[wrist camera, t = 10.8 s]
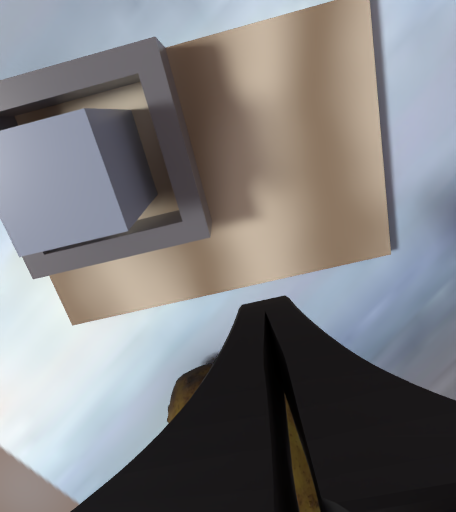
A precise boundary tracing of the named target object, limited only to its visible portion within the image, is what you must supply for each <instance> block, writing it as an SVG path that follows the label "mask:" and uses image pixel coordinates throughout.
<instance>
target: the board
mask: <svg viewBox="0 0 456 512" xmlns="http://www.w3.org/2000/svg"><path fill="white" fill-rule="evenodd" d="M166 52H167V56H168V60H169V63H170V67H171V71H172V74H173V78H174V82H175V86H176V89H177V93H178V97H179V100H180V104H181V108H182V112H183V115H184V119H185V123H186V126H187V130H188V134H189V138H190V141H191V145H192V149H193V152H194V156H195V160H196V164H197V167H198V171H199V175H200V178H201V182H202V186H203V190H204V193H205V197H206V201H207V204H208V208H209V212H210V216H211V219H212V228H211V237H210V238H206V239H202V240H198V241H193V242H189V243H185V244H181V245H176V246H172V247H168V248H164V249H159V250H155V251H151V252H147V253H142V254H138V255H134V256H130V257H125V258H121V259H117V260H113V261H109V262H104V263H100V264H96V265H92V266H87V267H83V268H79V269H75V270H70V271H66V272H62V273H58V274H53V275H49V276H50V278H51V281H52V283H53V285H54V287H55V289H56V291H57V293H58V296H59V298H60V300H61V302H62V304H63V306H64V308H65V311H66V313H67V315H68V317H69V319H70V321H71V323H72V325H76V324H81V323H85V322H90V321H94V320H99V319H103V318H108V317H112V316H117V315H121V314H126V313H130V312H135V311H139V310H144V309H148V308H152V307H157V306H161V305H166V304H170V303H175V302H179V301H184V300H188V299H193V298H197V297H202V296H206V295H211V294H215V293H220V292H224V291H229V290H233V289H238V288H242V287H247V286H251V285H256V284H260V283H265V282H269V281H274V280H278V279H283V278H287V277H292V276H296V275H300V274H305V273H309V272H314V271H318V270H323V269H327V268H332V267H336V266H341V265H345V264H350V263H354V262H359V261H363V260H368V259H372V258H377V257H381V256H386V255H390V254H391V248H390V236H389V225H388V213H387V201H386V189H385V177H384V165H383V154H382V142H381V130H380V118H379V106H378V94H377V82H376V71H375V59H374V47H373V35H372V23H371V11H370V0H334V1H331V2H327V3H324V4H320V5H317V6H313V7H309V8H306V9H302V10H299V11H295V12H292V13H288V14H284V15H281V16H277V17H274V18H270V19H267V20H263V21H259V22H256V23H252V24H249V25H245V26H242V27H238V28H234V29H231V30H227V31H224V32H220V33H217V34H213V35H209V36H206V37H202V38H199V39H195V40H192V41H188V42H184V43H181V44H177V45H174V46H170V47H167V48H166ZM83 108H93V109H126V110H131V111H132V114H133V117H134V120H135V124H136V127H137V130H138V133H139V136H140V139H141V143H142V146H143V149H144V152H145V155H146V159H147V162H148V165H149V168H150V171H151V174H152V178H153V181H154V184H155V187H156V190H157V194H158V195H157V196H156V197H155V198H154V200H153V201H152V202H151V203H150V205H149V206H148V207H147V208H146V210H145V211H144V212H143V213H142V215H141V216H140V217H139V218H138V220H140V219H144V218H148V217H152V216H156V215H160V214H164V213H168V212H172V211H177V210H179V208H178V205H177V201H176V198H175V195H174V191H173V188H172V185H171V181H170V178H169V175H168V171H167V168H166V165H165V161H164V158H163V155H162V151H161V148H160V145H159V141H158V138H157V135H156V131H155V128H154V125H153V121H152V118H151V115H150V111H149V108H148V105H147V101H146V98H145V95H144V91H143V88H142V85H141V82H137V83H134V84H130V85H126V86H123V87H119V88H115V89H112V90H108V91H105V92H101V93H97V94H94V95H90V96H86V97H83V98H79V99H75V100H72V101H68V102H64V103H61V104H57V105H53V106H50V107H46V108H42V109H39V110H35V111H31V112H28V113H24V114H21V115H17V116H15V119H16V121H17V123H18V126H20V125H23V124H27V123H31V122H34V121H38V120H42V119H46V118H49V117H53V116H57V115H61V114H64V113H68V112H72V111H76V110H79V109H83Z"/></svg>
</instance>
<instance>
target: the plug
mask: <svg viewBox="0 0 456 512" xmlns="http://www.w3.org/2000/svg"><path fill="white" fill-rule="evenodd" d="M157 195H158V194H157V190H156V187H155V184H154V181H153V178H152V174H151V171H150V168H149V165H148V162H147V159H146V155H145V152H144V149H143V146H142V143H141V139H140V136H139V133H138V130H137V127H136V124H135V120H134V117H133V114H132V111H131V110H126V109H93V108H83V109H79V110H76V111H72V112H68V113H64V114H61V115H57V116H53V117H49V118H46V119H42V120H38V121H34V122H31V123H27V124H23V125H20V126H16V127H12V128H8V129H5V130H1V131H0V219H1V221H2V223H3V225H4V227H5V229H6V231H7V233H8V235H9V237H10V239H11V241H12V243H13V245H14V247H15V249H16V251H17V253H18V256H19V257H22V256H26V255H30V254H34V253H39V252H43V251H47V250H51V249H55V248H60V247H64V246H68V245H72V244H76V243H81V242H85V241H89V240H93V239H97V238H102V237H106V236H110V235H114V234H118V233H123V232H127V231H129V229H130V228H131V227H132V226H133V224H134V223H135V222H136V221H137V220H138V218H139V217H140V216H141V215H142V213H143V212H144V211H145V210H146V208H147V207H148V206H149V205H150V203H151V202H152V201H153V200H154V198H155V197H156V196H157Z"/></svg>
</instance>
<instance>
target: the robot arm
mask: <svg viewBox="0 0 456 512" xmlns="http://www.w3.org/2000/svg"><path fill="white" fill-rule="evenodd" d="M284 393H285V394H284ZM285 396H286V399H287V402H288V405H289V408H290V411H291V414H292V417H293V420H294V424H295V427H296V430H297V433H298V436H299V439H300V442H301V445H302V448H303V451H304V454H305V457H306V460H307V463H308V466H309V469H310V473H311V476H312V480H313V483H314V487H315V491H316V495H317V499H318V504H319V508H320V512H456V400H453V399H450V398H447V397H445V396H442V395H439V394H436V393H434V392H432V391H429V390H427V389H424V388H422V387H419V386H417V385H415V384H412V383H410V382H408V381H406V380H404V379H402V378H399V377H397V376H395V375H393V374H391V373H389V372H387V371H385V370H383V369H381V368H379V367H377V366H375V365H373V364H371V363H370V362H368V361H366V360H364V359H363V358H361V357H359V356H358V355H356V354H355V353H353V352H352V351H350V350H349V349H347V348H346V347H344V346H343V345H341V344H340V343H339V342H337V341H336V340H334V339H333V338H332V337H330V336H329V335H328V334H326V333H325V332H324V331H323V330H322V329H320V328H319V327H318V326H317V325H316V324H314V323H313V322H312V321H311V320H310V319H309V318H308V317H306V316H305V315H304V314H303V313H302V312H301V311H300V310H299V309H298V308H297V307H296V306H295V304H294V303H293V302H292V301H291V300H290V298H288V297H286V296H280V297H276V298H271V299H267V300H262V301H258V302H253V303H248V304H244V305H241V307H240V308H239V310H238V313H237V316H236V319H235V321H234V324H233V326H232V328H231V331H230V333H229V335H228V337H227V339H226V341H225V343H224V345H223V347H222V349H221V351H220V353H219V355H218V356H217V358H216V360H215V362H214V363H213V365H212V367H211V368H210V370H209V372H208V373H207V375H206V377H205V378H204V380H203V381H202V383H201V384H200V386H199V387H198V388H197V390H196V391H195V393H194V394H193V395H192V397H191V398H190V399H189V401H188V402H187V403H186V404H185V406H184V407H183V408H182V409H181V410H180V411H179V412H178V414H177V415H176V416H175V417H174V418H173V419H172V420H171V421H170V423H169V424H168V425H167V426H166V427H165V428H164V429H163V431H162V432H161V433H160V434H159V435H158V436H157V437H156V438H155V439H154V440H153V441H152V442H151V443H150V444H149V445H148V446H147V447H146V448H145V449H144V450H143V451H142V452H140V453H139V454H138V455H137V456H136V457H135V458H134V459H133V460H132V461H131V462H130V463H129V464H128V465H126V466H125V467H124V468H123V469H122V470H121V471H120V472H119V473H117V474H116V475H115V476H114V477H113V478H111V479H110V480H109V481H108V482H107V483H105V484H104V485H103V486H102V487H100V488H99V489H98V490H97V491H96V492H94V493H93V494H92V495H91V496H89V497H88V498H87V499H86V500H85V501H83V502H82V503H81V504H80V505H78V506H77V507H76V508H75V509H73V510H72V511H71V512H300V511H299V506H298V501H297V495H296V490H295V483H294V476H293V469H292V459H291V450H290V441H289V431H288V422H287V413H286V403H285Z"/></svg>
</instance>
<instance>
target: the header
mask: <svg viewBox="0 0 456 512" xmlns="http://www.w3.org/2000/svg"><path fill="white" fill-rule="evenodd" d="M137 82H141V85H142V88H143V91H144V95H145V98H146V101H147V105H148V108H149V111H150V115H151V118H152V121H153V125H154V128H155V131H156V135H157V138H158V141H159V145H160V148H161V151H162V155H163V158H164V161H165V165H166V168H167V171H168V175H169V178H170V181H171V185H172V188H173V191H174V195H175V198H176V201H177V205H178V208H179V210H177V211H172V212H168V213H164V214H160V215H156V216H152V217H148V218H144V219H140V220H137V221H136V222H135V223H134V224H133V226H132V227H131V228H130V229H129V231H127V232H123V233H118V234H114V235H110V236H106V237H102V238H97V239H93V240H89V241H85V242H81V243H76V244H72V245H68V246H64V247H60V248H55V249H51V250H47V251H43V252H39V253H34V254H30V255H26V256H22V258H23V260H24V262H25V264H26V266H27V268H28V270H29V272H30V274H31V276H32V278H33V279H36V278H41V277H45V276H49V275H53V274H58V273H62V272H66V271H70V270H75V269H79V268H83V267H87V266H92V265H96V264H100V263H104V262H109V261H113V260H117V259H121V258H125V257H130V256H134V255H138V254H142V253H147V252H151V251H155V250H159V249H164V248H168V247H172V246H176V245H181V244H185V243H189V242H193V241H198V240H202V239H206V238H210V237H211V228H212V219H211V216H210V212H209V208H208V204H207V201H206V197H205V193H204V190H203V186H202V182H201V178H200V175H199V171H198V167H197V164H196V160H195V156H194V152H193V149H192V145H191V141H190V138H189V134H188V130H187V126H186V123H185V119H184V115H183V112H182V108H181V104H180V100H179V97H178V93H177V89H176V86H175V82H174V78H173V74H172V71H171V67H170V63H169V60H168V56H167V52H166V48H165V47H164V46H163V45H162V44H161V42H160V41H159V40H158V39H157V38H156V37H152V38H148V39H145V40H141V41H138V42H134V43H131V44H127V45H124V46H120V47H117V48H113V49H110V50H106V51H102V52H99V53H95V54H92V55H88V56H85V57H81V58H78V59H74V60H71V61H67V62H64V63H60V64H57V65H53V66H49V67H46V68H42V69H39V70H35V71H32V72H28V73H25V74H21V75H18V76H14V77H11V78H7V79H4V80H0V131H1V130H5V129H8V128H12V127H16V126H18V123H17V121H16V119H15V116H17V115H21V114H24V113H28V112H31V111H35V110H39V109H42V108H46V107H50V106H53V105H57V104H61V103H64V102H68V101H72V100H75V99H79V98H83V97H86V96H90V95H94V94H97V93H101V92H105V91H108V90H112V89H115V88H119V87H123V86H126V85H130V84H134V83H137Z"/></svg>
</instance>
